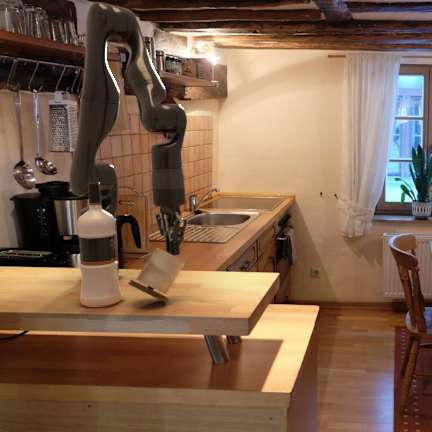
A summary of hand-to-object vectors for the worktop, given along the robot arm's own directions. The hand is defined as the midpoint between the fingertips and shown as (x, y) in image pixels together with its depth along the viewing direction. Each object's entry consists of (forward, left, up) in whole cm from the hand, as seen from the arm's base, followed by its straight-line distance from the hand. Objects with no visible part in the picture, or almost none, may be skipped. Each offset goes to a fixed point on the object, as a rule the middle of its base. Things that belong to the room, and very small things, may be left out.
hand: (173, 253), depth 142 cm
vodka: (-9, -15, -12) cm, 21 cm away
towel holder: (0, +2, -5) cm, 6 cm away
